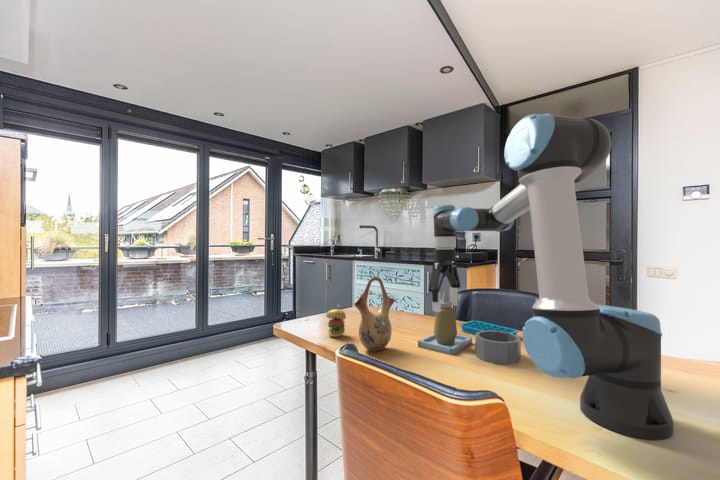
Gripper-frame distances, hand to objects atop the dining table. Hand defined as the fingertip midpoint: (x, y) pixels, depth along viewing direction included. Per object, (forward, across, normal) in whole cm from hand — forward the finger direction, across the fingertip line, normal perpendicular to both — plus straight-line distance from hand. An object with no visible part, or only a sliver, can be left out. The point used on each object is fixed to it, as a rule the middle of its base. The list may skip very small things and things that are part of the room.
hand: (445, 308), depth 116 cm
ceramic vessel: (+13, +20, -16) cm, 29 cm away
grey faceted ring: (+13, 0, +18) cm, 22 cm away
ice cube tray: (+14, -23, +7) cm, 28 cm away
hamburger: (+13, +17, -38) cm, 44 cm away
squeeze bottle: (+12, 0, 0) cm, 13 cm away
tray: (+13, 0, 0) cm, 13 cm away
